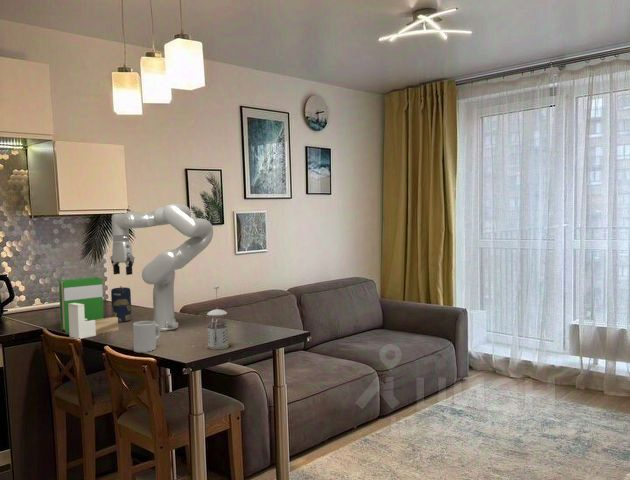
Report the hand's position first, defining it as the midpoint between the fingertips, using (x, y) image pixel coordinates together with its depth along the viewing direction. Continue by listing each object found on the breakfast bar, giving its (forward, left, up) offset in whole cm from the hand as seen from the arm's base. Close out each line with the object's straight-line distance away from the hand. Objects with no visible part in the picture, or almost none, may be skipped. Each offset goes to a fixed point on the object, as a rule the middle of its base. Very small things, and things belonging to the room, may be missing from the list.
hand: (123, 274), depth 263 cm
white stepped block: (-3, +24, -26) cm, 35 cm away
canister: (+14, -8, -26) cm, 31 cm away
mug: (-49, +21, -26) cm, 59 cm away
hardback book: (+13, +14, -26) cm, 32 cm away
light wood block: (-3, +15, -26) cm, 30 cm away
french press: (-71, +4, -26) cm, 75 cm away
